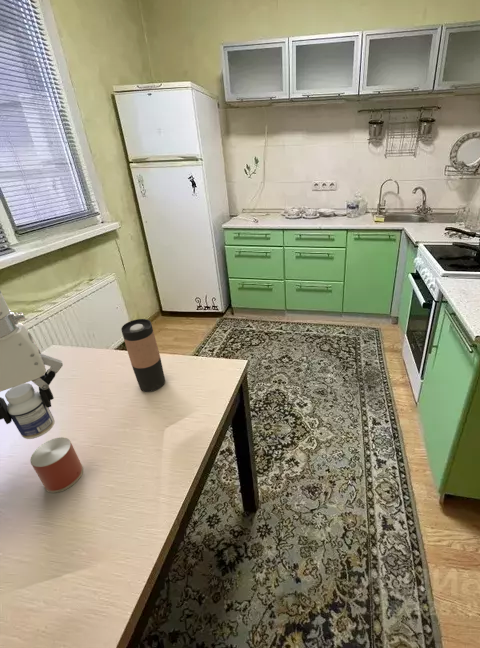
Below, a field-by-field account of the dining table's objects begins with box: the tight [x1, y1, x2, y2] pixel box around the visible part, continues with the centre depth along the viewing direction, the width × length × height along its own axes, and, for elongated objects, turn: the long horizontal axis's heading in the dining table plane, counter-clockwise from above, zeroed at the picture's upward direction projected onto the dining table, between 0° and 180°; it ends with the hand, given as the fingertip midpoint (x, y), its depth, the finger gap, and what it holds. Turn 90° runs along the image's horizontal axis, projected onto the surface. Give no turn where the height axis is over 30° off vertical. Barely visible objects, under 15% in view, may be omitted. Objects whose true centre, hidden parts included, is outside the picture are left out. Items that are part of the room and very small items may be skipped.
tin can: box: [30, 436, 84, 494], centre depth 68 cm, size 7×7×8 cm
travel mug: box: [120, 318, 166, 393], centre depth 91 cm, size 8×8×20 cm
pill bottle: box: [4, 382, 56, 440], centre depth 61 cm, size 5×5×10 cm
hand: (29, 410), depth 61 cm, fingers closed on pill bottle, 5 cm apart
